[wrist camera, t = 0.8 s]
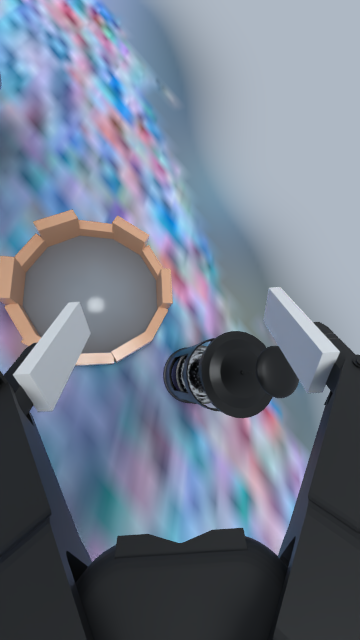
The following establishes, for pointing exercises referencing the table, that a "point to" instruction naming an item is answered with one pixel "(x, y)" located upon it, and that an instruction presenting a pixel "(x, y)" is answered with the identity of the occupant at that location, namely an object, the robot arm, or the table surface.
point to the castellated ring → (88, 284)
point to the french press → (231, 374)
